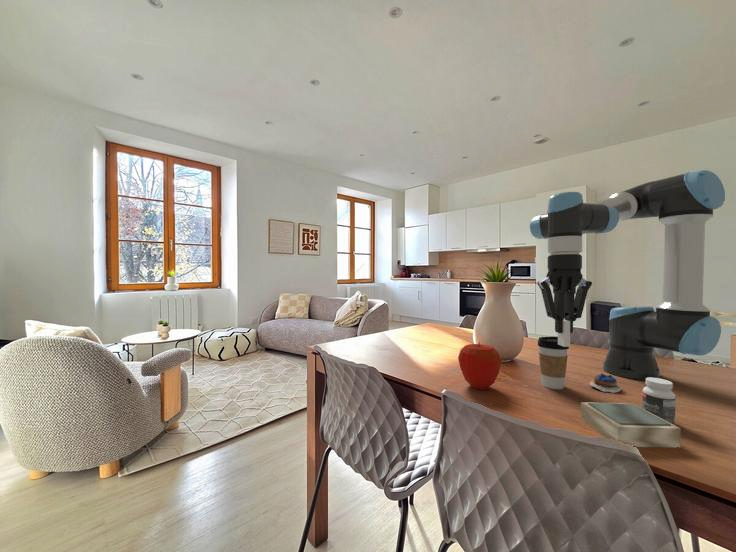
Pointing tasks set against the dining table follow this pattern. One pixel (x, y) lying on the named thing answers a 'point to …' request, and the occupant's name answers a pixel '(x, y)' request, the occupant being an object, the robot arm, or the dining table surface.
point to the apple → (479, 365)
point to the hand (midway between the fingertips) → (563, 345)
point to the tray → (630, 424)
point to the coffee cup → (552, 362)
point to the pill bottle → (659, 399)
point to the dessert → (605, 383)
